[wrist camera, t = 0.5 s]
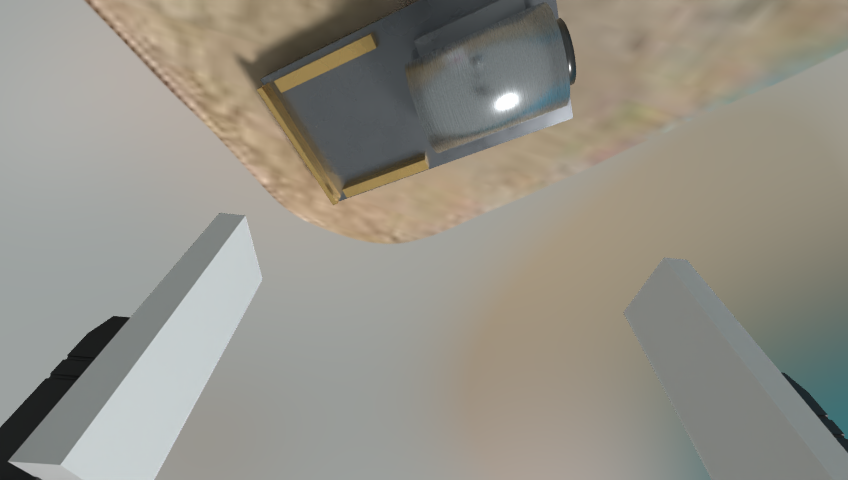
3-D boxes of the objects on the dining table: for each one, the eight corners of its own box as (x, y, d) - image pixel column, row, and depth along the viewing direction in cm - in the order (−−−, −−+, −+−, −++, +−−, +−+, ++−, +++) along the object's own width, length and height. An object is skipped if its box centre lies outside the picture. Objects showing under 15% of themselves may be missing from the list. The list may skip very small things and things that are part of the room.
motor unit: (267, 74, 31) (219, 104, 24) (541, -61, 24) (580, -72, 18) (342, 193, 38) (321, 242, 31) (568, 112, 32) (602, 150, 25)
